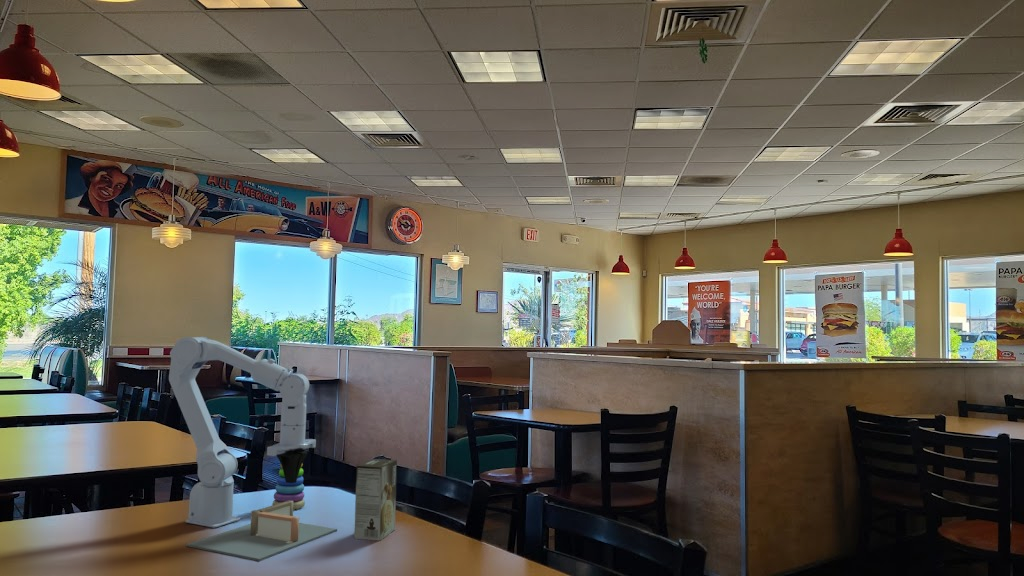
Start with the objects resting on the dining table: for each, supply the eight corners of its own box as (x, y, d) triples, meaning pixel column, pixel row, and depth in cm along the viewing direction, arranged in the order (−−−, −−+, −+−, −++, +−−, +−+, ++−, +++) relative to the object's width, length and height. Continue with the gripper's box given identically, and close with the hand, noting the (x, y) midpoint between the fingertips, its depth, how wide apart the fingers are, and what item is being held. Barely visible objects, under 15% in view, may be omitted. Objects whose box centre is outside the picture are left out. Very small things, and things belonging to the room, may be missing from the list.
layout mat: (186, 546, 147) (186, 543, 148) (269, 519, 169) (269, 517, 169) (259, 561, 139) (259, 558, 139) (337, 530, 161) (337, 528, 161)
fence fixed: (248, 536, 155) (249, 511, 155) (288, 523, 166) (289, 499, 167) (254, 537, 154) (255, 512, 155) (294, 524, 166) (295, 500, 166)
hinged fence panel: (256, 535, 154) (257, 513, 155) (261, 533, 156) (262, 511, 156) (294, 541, 150) (295, 519, 151) (299, 539, 152) (300, 517, 152)
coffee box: (369, 527, 164) (372, 457, 165) (395, 530, 163) (398, 459, 164) (353, 539, 155) (355, 465, 156) (380, 541, 154) (383, 466, 155)
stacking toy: (286, 513, 175) (289, 436, 177) (265, 507, 180) (268, 433, 181) (311, 506, 182) (314, 433, 183) (290, 502, 186) (293, 430, 188)
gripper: (284, 429, 160) (282, 490, 159) (326, 422, 173) (324, 478, 172) (261, 426, 163) (258, 486, 162) (303, 420, 176) (301, 475, 175)
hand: (290, 482), depth 167 cm, fingers closed
